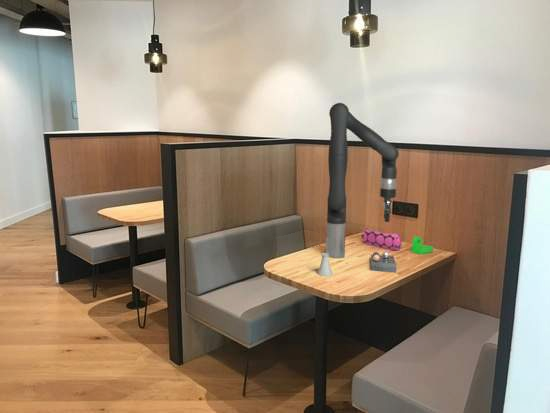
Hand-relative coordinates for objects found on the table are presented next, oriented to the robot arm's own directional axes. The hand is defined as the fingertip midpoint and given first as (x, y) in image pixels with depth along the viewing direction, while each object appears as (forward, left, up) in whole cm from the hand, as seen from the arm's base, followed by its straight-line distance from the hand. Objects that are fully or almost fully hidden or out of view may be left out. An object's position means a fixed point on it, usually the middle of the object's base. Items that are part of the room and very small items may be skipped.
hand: (386, 220), depth 216 cm
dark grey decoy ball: (-5, -9, -16) cm, 19 cm away
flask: (-27, -31, -20) cm, 46 cm away
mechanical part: (+21, +19, -20) cm, 35 cm away
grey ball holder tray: (-1, -12, -20) cm, 23 cm away
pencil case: (-1, +22, -20) cm, 30 cm away
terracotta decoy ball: (-5, -13, -16) cm, 21 cm away
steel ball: (0, -7, -16) cm, 17 cm away
